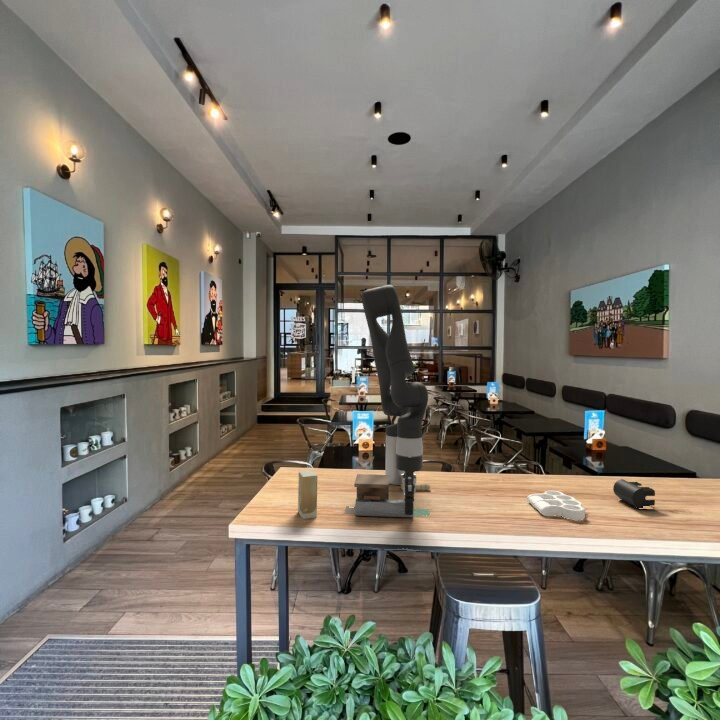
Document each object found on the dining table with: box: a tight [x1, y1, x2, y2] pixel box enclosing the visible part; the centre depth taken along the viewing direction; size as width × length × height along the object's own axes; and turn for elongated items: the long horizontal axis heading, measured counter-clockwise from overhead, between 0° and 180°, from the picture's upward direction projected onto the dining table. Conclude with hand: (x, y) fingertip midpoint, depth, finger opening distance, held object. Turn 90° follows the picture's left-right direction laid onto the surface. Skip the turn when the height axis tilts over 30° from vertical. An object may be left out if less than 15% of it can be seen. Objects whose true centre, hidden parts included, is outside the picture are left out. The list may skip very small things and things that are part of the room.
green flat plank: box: [343, 505, 431, 517], centre depth 127 cm, size 25×6×1 cm, turn 85°
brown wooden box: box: [353, 473, 390, 500], centre depth 129 cm, size 10×10×9 cm
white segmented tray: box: [526, 490, 588, 520], centre depth 130 cm, size 3×18×15 cm
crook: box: [354, 493, 415, 518], centre depth 125 cm, size 16×8×4 cm, turn 85°
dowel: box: [400, 483, 431, 492], centre depth 148 cm, size 10×2×2 cm
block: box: [363, 496, 381, 499], centre depth 127 cm, size 5×5×4 cm
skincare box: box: [297, 469, 318, 520], centre depth 124 cm, size 6×4×12 cm
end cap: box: [612, 478, 656, 509], centre depth 135 cm, size 10×7×7 cm
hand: (408, 512), depth 122 cm, fingers closed on crook, 2 cm apart
